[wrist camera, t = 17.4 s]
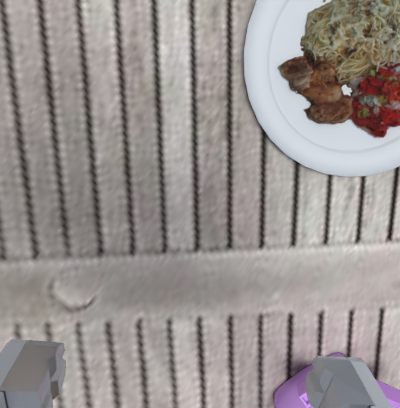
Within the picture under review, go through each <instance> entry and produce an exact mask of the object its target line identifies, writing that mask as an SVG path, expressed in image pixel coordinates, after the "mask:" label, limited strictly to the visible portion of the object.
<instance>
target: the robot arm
mask: <svg viewBox="0 0 400 408" xmlns="http://www.w3.org/2000/svg"><path fill="white" fill-rule="evenodd" d="M64 351H65V349H64V343H57V342H45V341H32V340H17V339H12V340H10V341H9V342H8V343H7V344H6V346H5V347H4V349H3V350H2V352H1V353H0V408H53V401H52V400H53V399H54V398H56V397H57V396H58V395H59V393H60V391H61V388H62V385H63V381H64V377H65V371H66V361H65V360H64V359H63V358H62V356H63V354H64ZM312 366H313V368H314V369H313V370H311V371H310V372H308V374H307V377H306V394H307V397H308V400H309V403H310V405H311V406H312V407H313V408H397V407H392V406H391V405H390V403H389V401H388V400H387V398H386V396H385V395H384V393H383V391H382V390H381V388H380V386H379V385H378V383H377V381H376V380H375V378H374V377H373V375H372V373H371V372H370V370H369V368H368V367H367V365H366V363H365V362H364V361H363V360H362V359H361V358H348V357H331V356H316V357H315V358H314V359H313V361H312Z"/></svg>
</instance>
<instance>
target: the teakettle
mask: <svg viewBox="0 0 400 408" xmlns="http://www.w3.org/2000/svg"><path fill="white" fill-rule="evenodd" d="M329 356H331V357H345V356H343V355H342V354H341V353H334V354H331V355H329ZM313 369H314V368H313V366H312V364H311V365H309V366H307V367H306V368H304V369H302V370H301V371H299V372H298V373H296V374H295V375H294V376H292V377H291V378H290V379H288V380H287V381H286V382H284V383H283V384H282V385H281V386H280V387H279V388H278V389H277V390H276V391H275V395H274V405H275V408H313V407H312V406H311V405H310V403H309V400H308V397H307V394H306V377H307V374H308V372H310V371H311V370H313ZM375 380H376V379H375ZM376 381H377V383H378V385H379V386H380V388H381V390H382V391H383V393H384V395H385V396H386V398H387V400H388V401H389V403H390V405H391V406H392V407H397V408H400V390H398V389H396V388H394V387H391V386H389V385H387V384H385V383H383V382H380V381H378V380H376Z"/></svg>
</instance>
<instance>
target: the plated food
mask: <svg viewBox="0 0 400 408" xmlns="http://www.w3.org/2000/svg"><path fill="white" fill-rule="evenodd" d="M244 78H245V83H246V87H247V92H248V97H249V101H250V103H251V106H252V108H253V110H254V113H255V115H256V117H257V120H258V122H259V123H260V125H261V126H262V128H263V129H264V131H265V132H266V134H267V135H268V137H269V138H270V139H271V141H272V142H273V143H274V144H276V145H277V146H278V147H279V148H280V149H281V150H282V151H283V152H284V153H285V154H286V155H287V156H289V157H290V158H292V159H294V160H295V161H297V162H298V163H300V164H302V165H303V166H305V167H308V168H311V169H313V170H316V171H319V172H322V173H324V174H330V175H337V176H344V177H354V176H369V175H373V174H377V173H381V172H385V171H389V170H392V169H394V168H396V167H399V166H400V0H257V1H256V4H255V7H254V9H253V12H252V15H251V18H250V21H249V24H248V28H247V34H246V40H245V46H244Z"/></svg>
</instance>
